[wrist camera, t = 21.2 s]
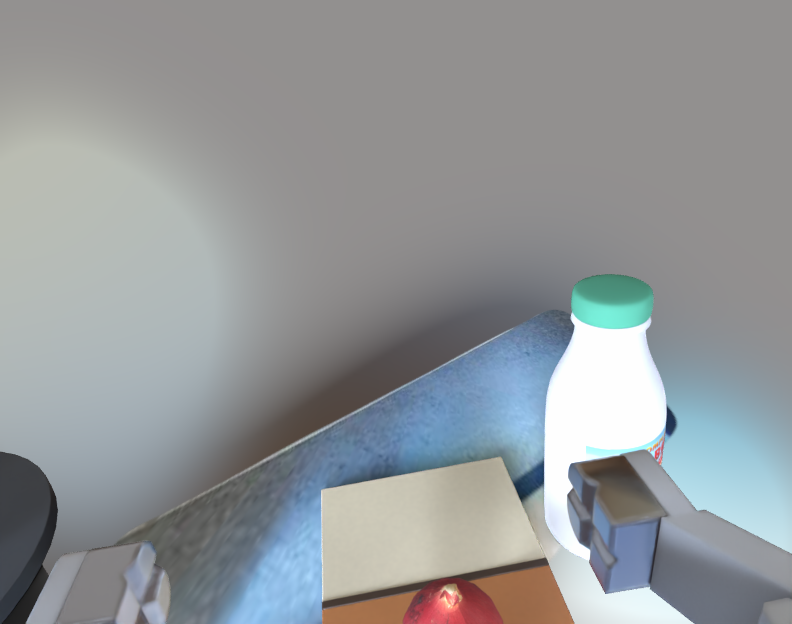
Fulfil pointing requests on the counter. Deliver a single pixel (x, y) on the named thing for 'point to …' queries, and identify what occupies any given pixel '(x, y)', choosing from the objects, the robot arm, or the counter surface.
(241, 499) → the counter surface
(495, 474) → the sorting board
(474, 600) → the onion
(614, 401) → the milk bottle
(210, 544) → the counter surface
